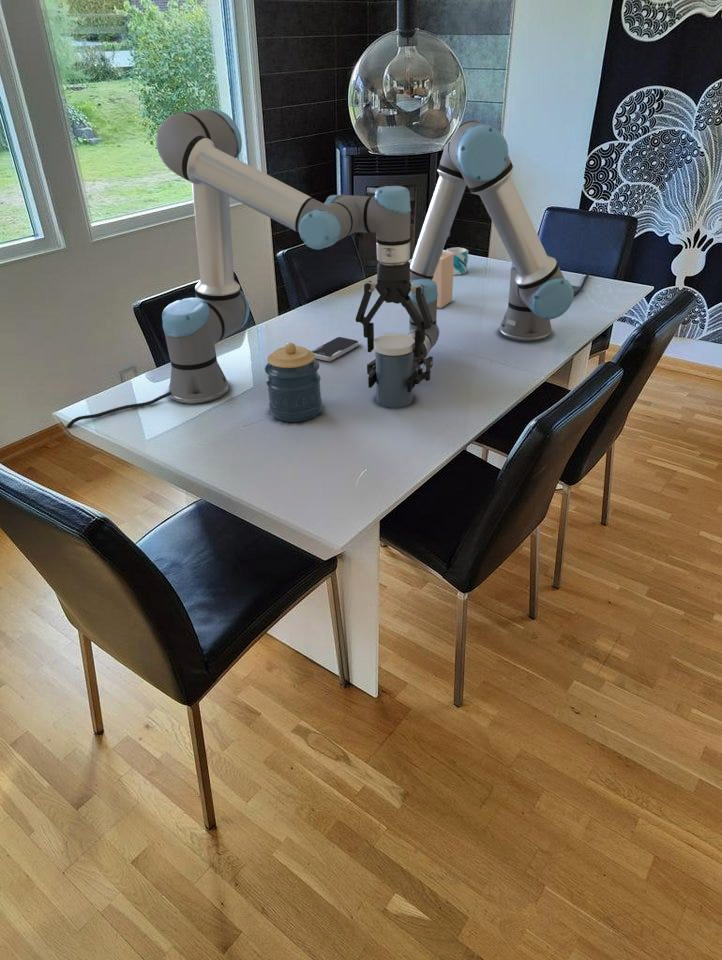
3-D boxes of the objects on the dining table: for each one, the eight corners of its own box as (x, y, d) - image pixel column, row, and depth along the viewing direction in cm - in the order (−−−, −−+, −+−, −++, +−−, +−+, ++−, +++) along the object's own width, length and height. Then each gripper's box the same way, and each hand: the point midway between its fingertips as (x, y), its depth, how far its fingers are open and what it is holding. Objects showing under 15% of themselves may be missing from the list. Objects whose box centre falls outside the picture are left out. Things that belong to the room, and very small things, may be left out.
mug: (441, 273, 261) (442, 251, 257) (455, 265, 270) (456, 243, 265) (461, 275, 257) (462, 253, 253) (474, 267, 266) (475, 246, 261)
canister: (275, 426, 159) (266, 357, 150) (266, 403, 170) (257, 337, 160) (328, 418, 162) (323, 349, 153) (316, 396, 173) (310, 330, 163)
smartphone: (359, 341, 201) (329, 357, 190) (359, 345, 201) (329, 362, 191) (338, 336, 204) (308, 352, 194) (339, 340, 205) (308, 357, 195)
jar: (370, 404, 168) (368, 347, 160) (385, 389, 175) (384, 334, 167) (404, 410, 165) (404, 353, 156) (418, 395, 171) (419, 339, 163)
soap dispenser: (441, 308, 227) (443, 241, 215) (418, 304, 231) (419, 238, 219) (457, 297, 236) (460, 232, 224) (435, 294, 240) (437, 230, 228)
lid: (418, 353, 159) (418, 347, 158) (377, 357, 158) (376, 350, 157) (410, 338, 167) (410, 332, 166) (371, 342, 166) (370, 335, 165)
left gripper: (338, 262, 152) (343, 353, 164) (440, 269, 144) (437, 363, 156) (350, 254, 158) (354, 342, 170) (448, 260, 150) (445, 351, 162)
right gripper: (453, 367, 179) (432, 404, 162) (375, 359, 186) (347, 393, 168) (454, 341, 175) (433, 375, 158) (374, 333, 182) (346, 366, 164)
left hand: (394, 352), depth 163 cm, fingers open, 11 cm apart
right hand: (389, 384), depth 163 cm, fingers closed on jar, 9 cm apart
